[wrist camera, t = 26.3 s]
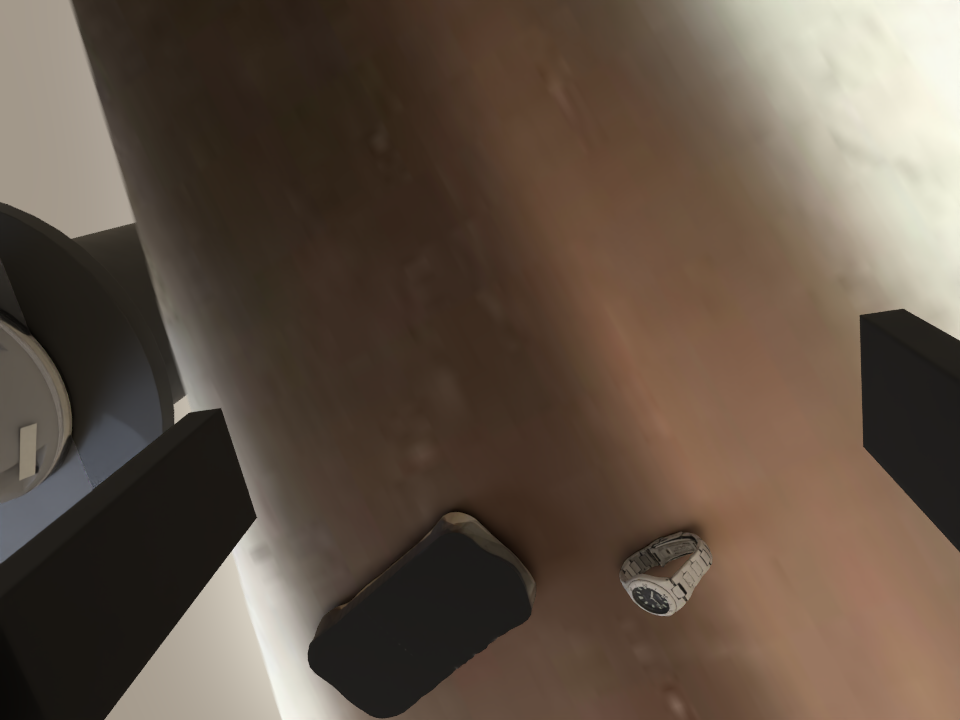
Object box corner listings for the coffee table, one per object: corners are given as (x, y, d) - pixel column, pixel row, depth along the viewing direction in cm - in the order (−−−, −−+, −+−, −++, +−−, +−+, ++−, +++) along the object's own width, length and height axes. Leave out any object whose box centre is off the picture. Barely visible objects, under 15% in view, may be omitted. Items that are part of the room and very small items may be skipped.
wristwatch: (608, 553, 48) (614, 601, 44) (688, 510, 47) (702, 554, 42) (636, 590, 49) (645, 640, 44) (716, 549, 47) (733, 597, 43)
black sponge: (393, 691, 54) (382, 730, 51) (311, 621, 53) (294, 656, 49) (549, 572, 49) (548, 606, 46) (463, 492, 48) (456, 521, 45)
